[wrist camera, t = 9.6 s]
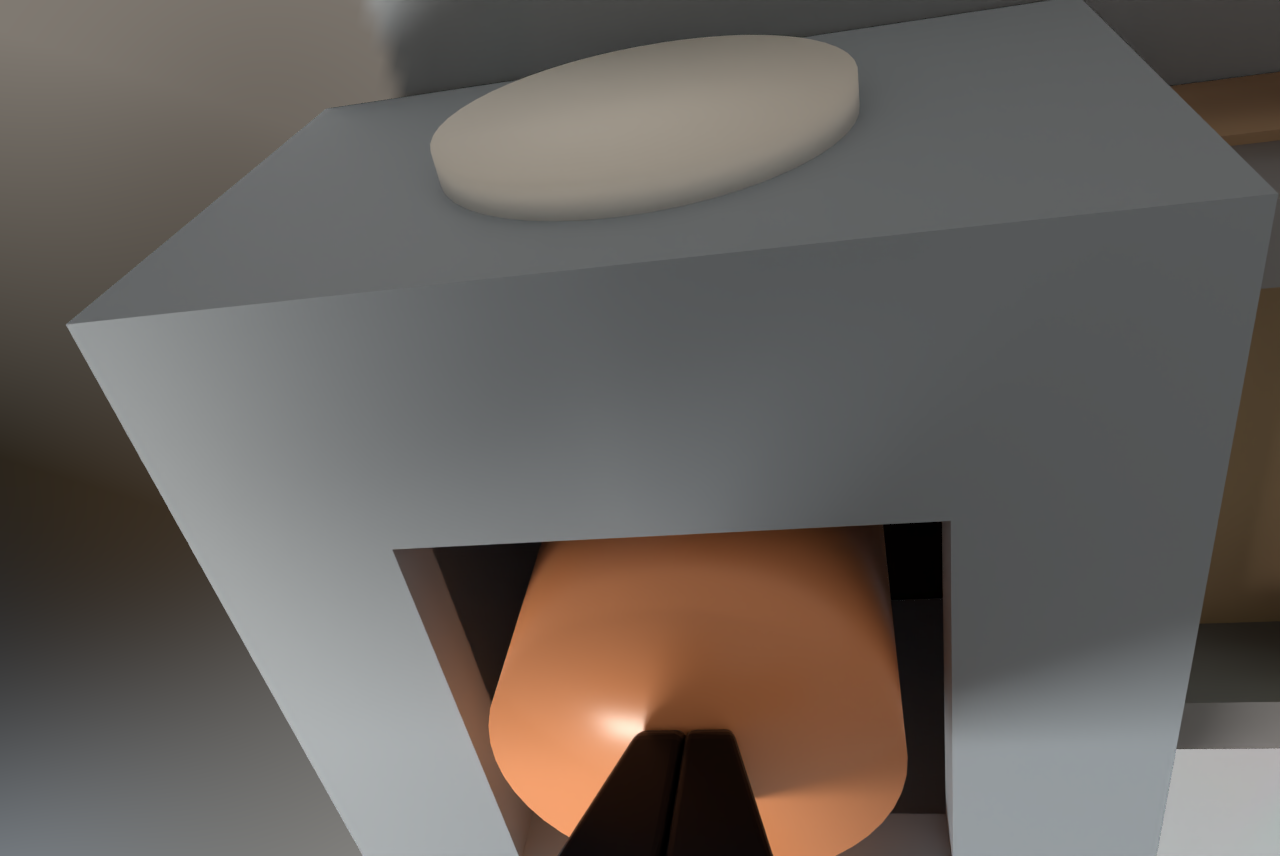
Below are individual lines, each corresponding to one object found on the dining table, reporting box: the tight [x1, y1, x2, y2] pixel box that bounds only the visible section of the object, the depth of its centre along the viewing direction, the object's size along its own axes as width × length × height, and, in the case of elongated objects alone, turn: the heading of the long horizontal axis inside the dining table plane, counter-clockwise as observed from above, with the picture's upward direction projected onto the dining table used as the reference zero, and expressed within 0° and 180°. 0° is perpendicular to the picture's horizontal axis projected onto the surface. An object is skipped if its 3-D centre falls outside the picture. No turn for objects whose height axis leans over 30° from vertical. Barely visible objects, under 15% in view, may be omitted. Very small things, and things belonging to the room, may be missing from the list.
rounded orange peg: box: [488, 524, 908, 856], centre depth 10 cm, size 4×4×3 cm
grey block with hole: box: [66, 0, 1278, 856], centre depth 11 cm, size 8×9×5 cm
